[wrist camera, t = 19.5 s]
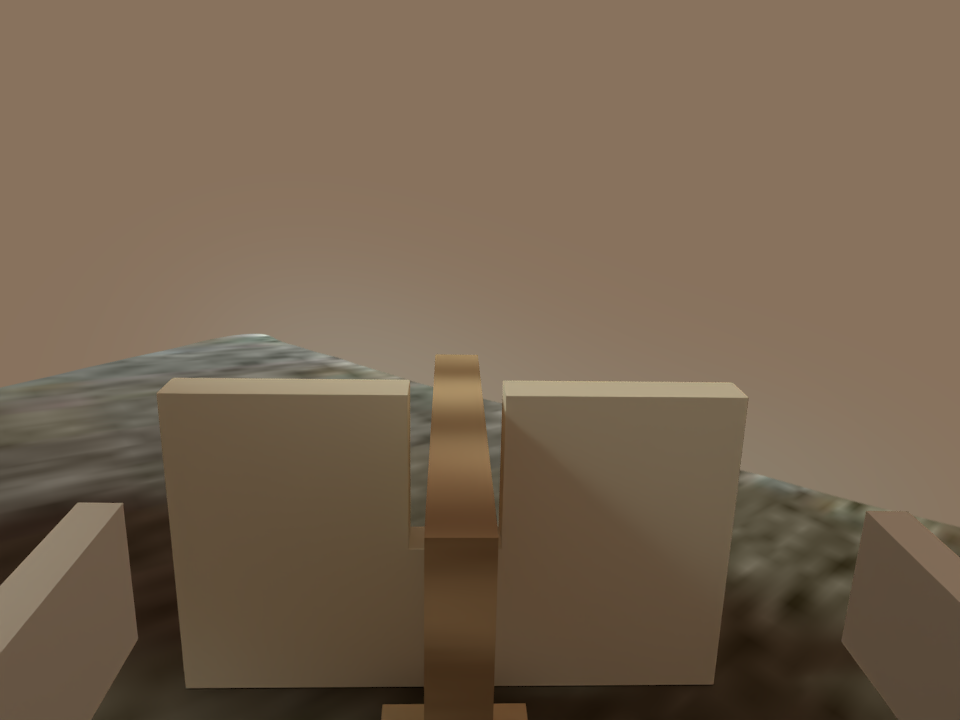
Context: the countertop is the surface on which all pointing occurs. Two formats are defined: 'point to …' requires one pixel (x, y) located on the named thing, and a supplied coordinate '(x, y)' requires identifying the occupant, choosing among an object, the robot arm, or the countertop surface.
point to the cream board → (400, 548)
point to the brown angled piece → (459, 558)
